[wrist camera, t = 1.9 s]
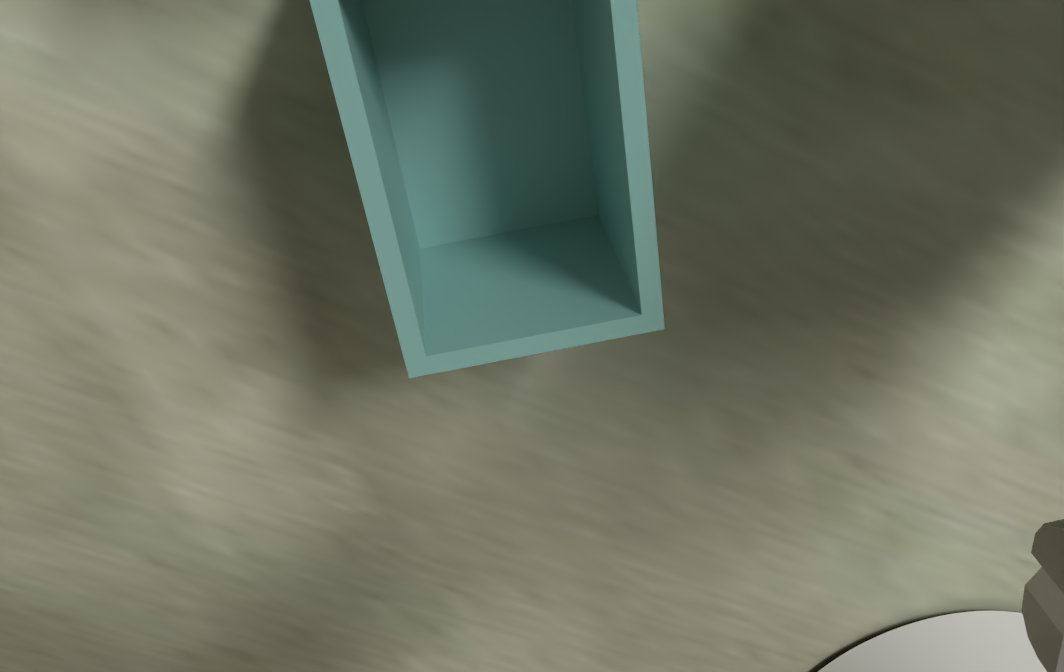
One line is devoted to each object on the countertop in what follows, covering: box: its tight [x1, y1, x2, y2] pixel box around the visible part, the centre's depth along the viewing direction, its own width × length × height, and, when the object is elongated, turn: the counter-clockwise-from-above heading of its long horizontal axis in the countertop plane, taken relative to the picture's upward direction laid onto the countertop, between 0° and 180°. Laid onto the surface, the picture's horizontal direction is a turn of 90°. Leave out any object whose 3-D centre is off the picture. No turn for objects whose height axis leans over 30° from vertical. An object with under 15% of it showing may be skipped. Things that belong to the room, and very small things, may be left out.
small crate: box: [310, 0, 665, 378], centre depth 22 cm, size 9×6×6 cm, turn 8°
